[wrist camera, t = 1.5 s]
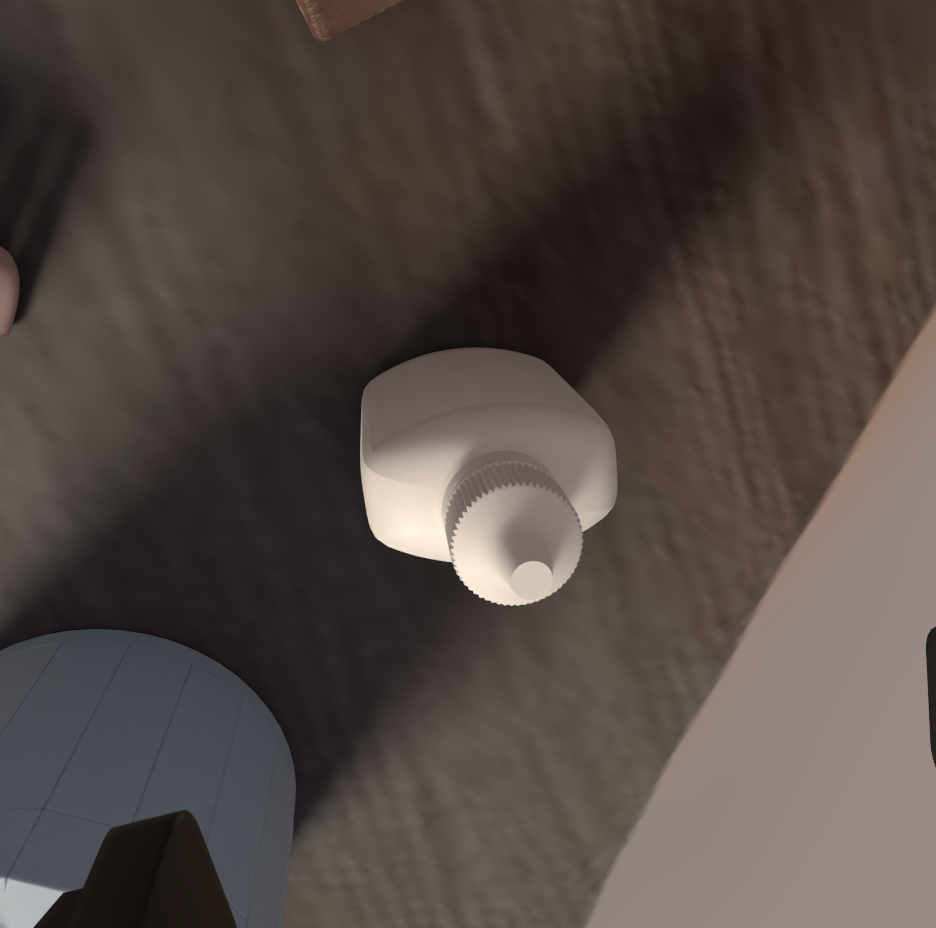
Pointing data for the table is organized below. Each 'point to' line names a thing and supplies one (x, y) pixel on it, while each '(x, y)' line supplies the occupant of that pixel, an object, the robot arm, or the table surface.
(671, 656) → the table surface
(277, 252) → the table surface
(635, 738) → the table surface
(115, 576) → the table surface
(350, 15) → the letter holder
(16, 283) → the coil
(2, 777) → the blue-grey pot
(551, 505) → the eye dropper bottle
